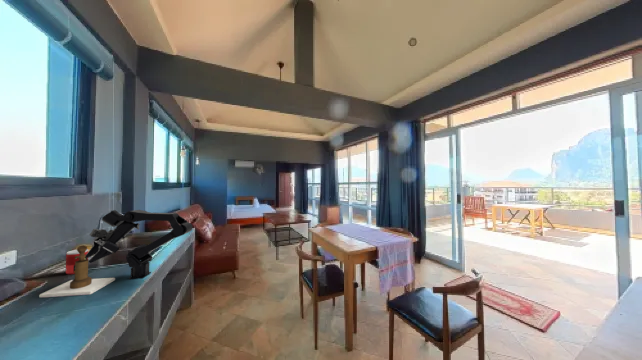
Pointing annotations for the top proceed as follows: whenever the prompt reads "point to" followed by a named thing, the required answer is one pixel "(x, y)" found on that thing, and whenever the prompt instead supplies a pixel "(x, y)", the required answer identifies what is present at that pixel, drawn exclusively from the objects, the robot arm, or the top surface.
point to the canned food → (72, 260)
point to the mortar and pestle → (81, 270)
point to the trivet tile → (67, 291)
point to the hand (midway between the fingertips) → (87, 260)
